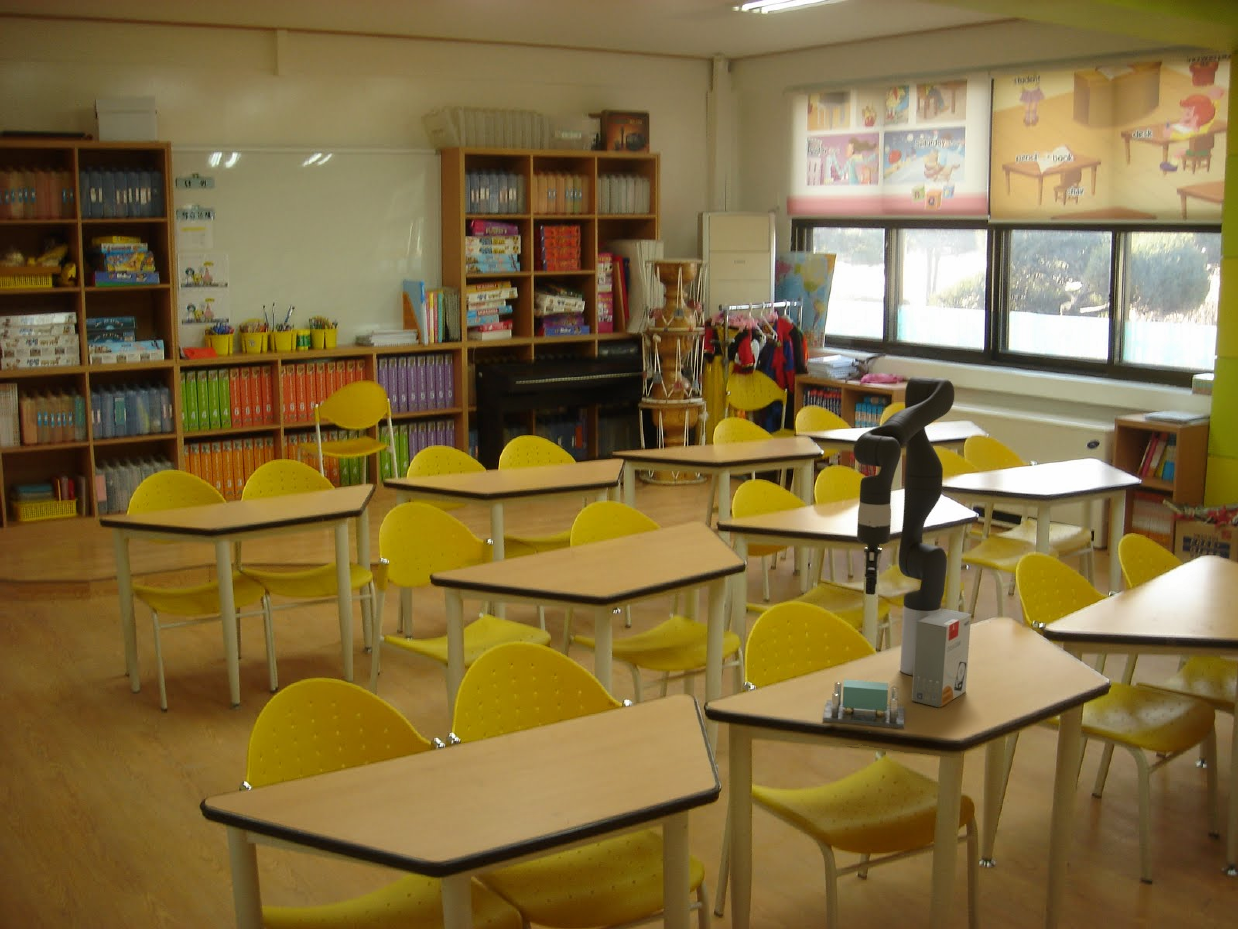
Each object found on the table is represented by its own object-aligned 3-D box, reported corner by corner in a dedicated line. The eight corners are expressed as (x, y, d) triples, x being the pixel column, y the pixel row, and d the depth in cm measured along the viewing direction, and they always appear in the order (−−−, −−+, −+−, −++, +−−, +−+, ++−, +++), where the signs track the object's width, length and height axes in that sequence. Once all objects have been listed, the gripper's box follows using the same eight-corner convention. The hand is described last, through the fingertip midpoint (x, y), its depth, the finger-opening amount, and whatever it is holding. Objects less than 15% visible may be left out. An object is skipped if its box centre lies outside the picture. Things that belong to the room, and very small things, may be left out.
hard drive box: (941, 709, 306) (945, 627, 303) (910, 702, 311) (914, 621, 308) (967, 691, 319) (971, 612, 315) (937, 685, 323) (941, 607, 320)
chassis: (826, 703, 309) (827, 679, 308) (904, 710, 305) (905, 686, 304) (823, 721, 298) (824, 696, 297) (903, 729, 294) (905, 703, 293)
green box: (843, 700, 304) (844, 679, 304) (887, 703, 302) (888, 683, 301) (842, 707, 300) (843, 686, 299) (886, 711, 298) (887, 690, 297)
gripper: (859, 514, 309) (856, 580, 312) (856, 526, 295) (853, 596, 298) (891, 516, 308) (888, 582, 310) (889, 528, 294) (886, 598, 297)
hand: (871, 589), depth 304 cm, fingers open, 8 cm apart
